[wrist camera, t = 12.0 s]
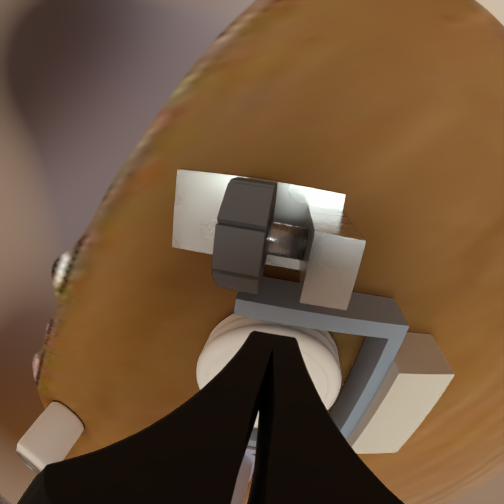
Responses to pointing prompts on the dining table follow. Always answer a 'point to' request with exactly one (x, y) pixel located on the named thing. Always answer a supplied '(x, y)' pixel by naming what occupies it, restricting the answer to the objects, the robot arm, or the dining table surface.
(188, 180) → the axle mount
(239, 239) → the wheel
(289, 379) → the robot arm
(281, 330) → the cream round disc
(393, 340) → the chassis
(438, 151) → the dining table surface
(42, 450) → the can
